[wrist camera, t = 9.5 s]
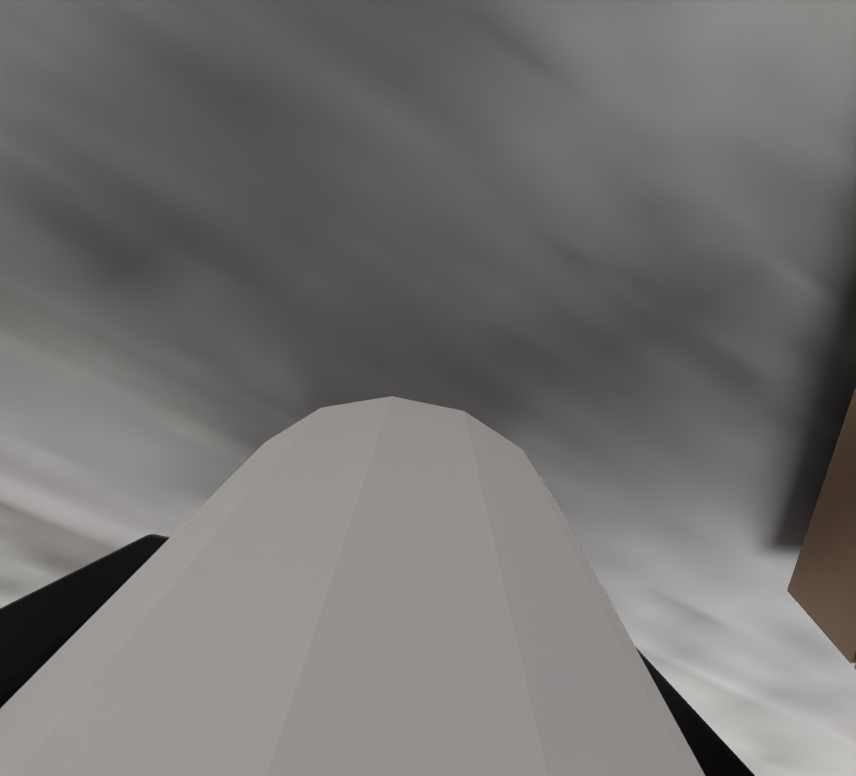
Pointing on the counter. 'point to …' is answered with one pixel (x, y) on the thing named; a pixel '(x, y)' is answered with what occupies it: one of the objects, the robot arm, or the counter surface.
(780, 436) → the counter surface
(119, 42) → the counter surface
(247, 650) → the white cup
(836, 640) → the brown wooden board
